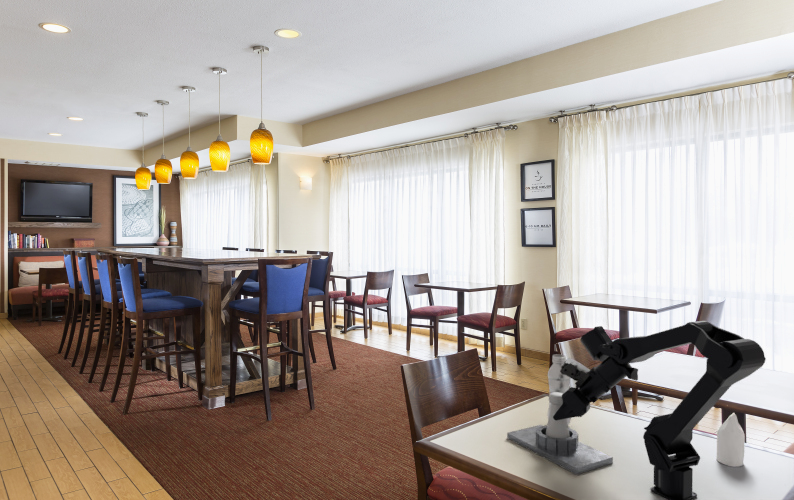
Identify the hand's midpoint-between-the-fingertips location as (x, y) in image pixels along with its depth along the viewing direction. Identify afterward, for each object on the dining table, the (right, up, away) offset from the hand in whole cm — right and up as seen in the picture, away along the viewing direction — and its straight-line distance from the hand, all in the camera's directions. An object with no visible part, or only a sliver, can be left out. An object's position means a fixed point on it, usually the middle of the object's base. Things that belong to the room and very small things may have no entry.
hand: (559, 413), depth 129 cm
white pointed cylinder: (+39, -10, -7) cm, 40 cm away
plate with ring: (0, -10, +1) cm, 10 cm away
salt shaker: (0, -8, +1) cm, 8 cm away
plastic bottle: (+5, -9, +17) cm, 21 cm away
